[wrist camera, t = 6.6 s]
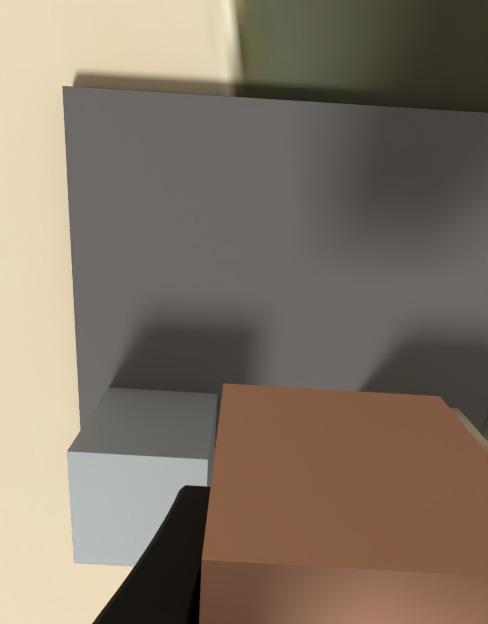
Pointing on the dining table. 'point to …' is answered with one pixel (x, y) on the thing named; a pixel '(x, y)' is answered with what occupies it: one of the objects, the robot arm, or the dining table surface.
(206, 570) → the terracotta block
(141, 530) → the slate block
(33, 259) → the dining table surface
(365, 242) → the mat
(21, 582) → the dining table surface
